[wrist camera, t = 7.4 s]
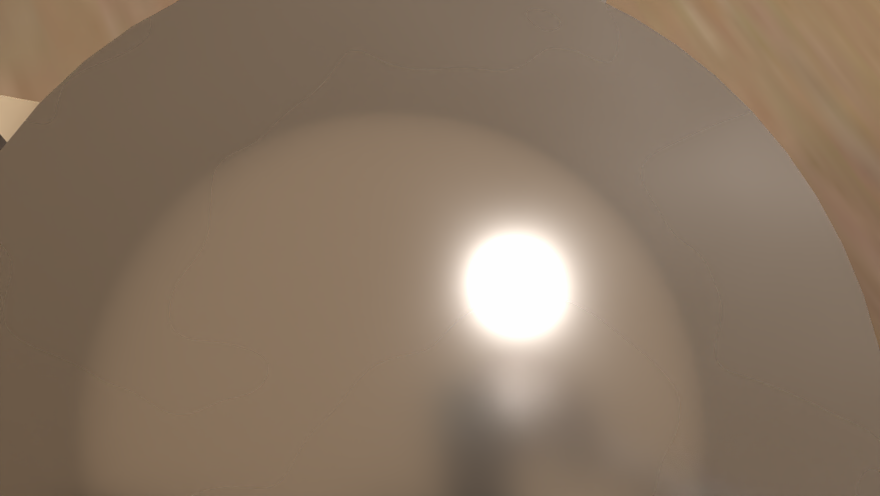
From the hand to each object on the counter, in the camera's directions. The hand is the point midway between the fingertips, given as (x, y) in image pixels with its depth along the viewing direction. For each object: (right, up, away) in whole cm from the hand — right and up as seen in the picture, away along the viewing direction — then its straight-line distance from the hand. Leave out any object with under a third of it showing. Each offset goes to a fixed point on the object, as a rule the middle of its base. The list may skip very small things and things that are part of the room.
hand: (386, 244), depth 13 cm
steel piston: (-1, -5, +2) cm, 5 cm away
